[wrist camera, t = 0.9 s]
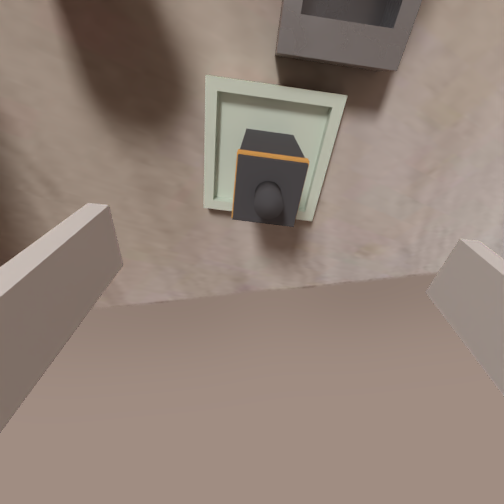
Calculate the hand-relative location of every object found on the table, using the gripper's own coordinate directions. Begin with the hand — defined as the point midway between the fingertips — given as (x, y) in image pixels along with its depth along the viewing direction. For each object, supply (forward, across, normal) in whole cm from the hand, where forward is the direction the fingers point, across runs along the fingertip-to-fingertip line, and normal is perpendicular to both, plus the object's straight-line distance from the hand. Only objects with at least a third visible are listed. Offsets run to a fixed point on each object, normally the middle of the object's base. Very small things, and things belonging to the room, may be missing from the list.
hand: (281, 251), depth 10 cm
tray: (+19, 0, -1) cm, 19 cm away
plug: (+18, 0, -1) cm, 18 cm away
